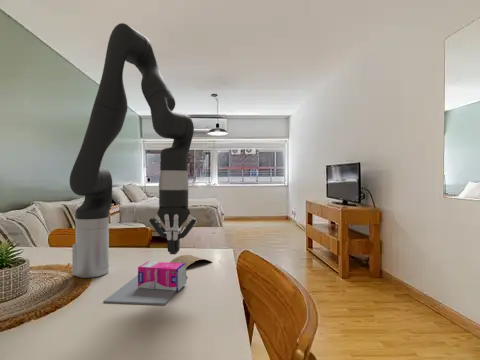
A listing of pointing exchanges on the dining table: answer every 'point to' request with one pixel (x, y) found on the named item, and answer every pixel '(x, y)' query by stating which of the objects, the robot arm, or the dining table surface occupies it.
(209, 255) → the dining table surface
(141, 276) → the supplement box
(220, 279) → the dining table surface
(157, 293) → the rubber mat
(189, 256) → the clay tablet
